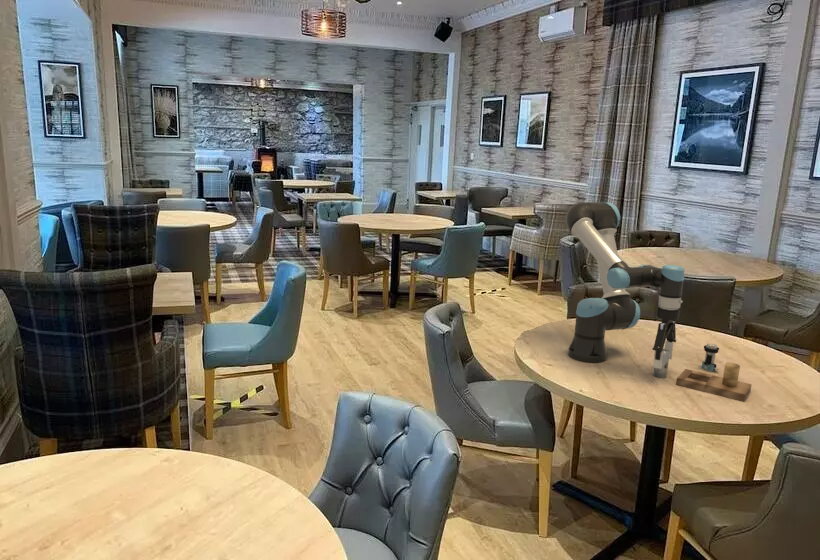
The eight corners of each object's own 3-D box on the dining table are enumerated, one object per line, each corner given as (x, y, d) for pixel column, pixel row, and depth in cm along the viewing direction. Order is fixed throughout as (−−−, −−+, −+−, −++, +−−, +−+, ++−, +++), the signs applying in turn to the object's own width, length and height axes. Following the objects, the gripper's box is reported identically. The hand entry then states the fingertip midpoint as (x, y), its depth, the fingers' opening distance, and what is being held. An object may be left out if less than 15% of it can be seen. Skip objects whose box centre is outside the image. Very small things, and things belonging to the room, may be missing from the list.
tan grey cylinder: (651, 376, 224) (655, 350, 222) (655, 372, 227) (658, 347, 225) (664, 379, 221) (667, 353, 219) (668, 375, 225) (671, 350, 223)
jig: (676, 384, 216) (679, 358, 214) (684, 375, 226) (688, 350, 223) (744, 401, 203) (748, 373, 201) (750, 391, 212) (754, 364, 210)
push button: (722, 372, 230) (725, 347, 228) (712, 373, 228) (716, 349, 226) (707, 366, 236) (710, 342, 234) (697, 367, 234) (701, 343, 232)
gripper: (670, 315, 207) (663, 374, 211) (688, 303, 226) (681, 357, 230) (647, 312, 211) (641, 369, 215) (667, 300, 230) (661, 352, 235)
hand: (662, 363), depth 223 cm, fingers open, 13 cm apart
